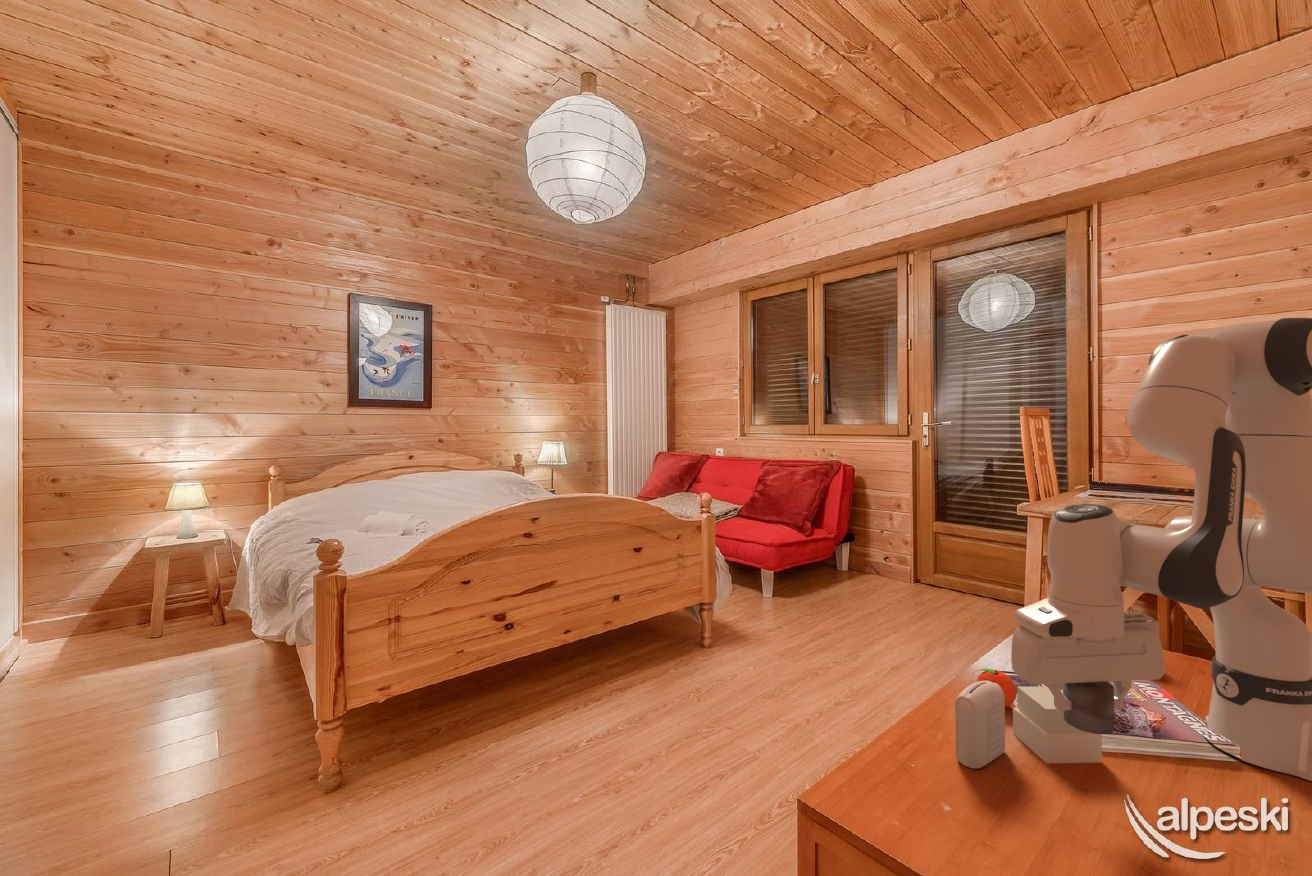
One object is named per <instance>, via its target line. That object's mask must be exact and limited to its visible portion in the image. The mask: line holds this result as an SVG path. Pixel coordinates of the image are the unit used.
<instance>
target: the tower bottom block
mask: <svg viewBox="0 0 1312 876" xmlns="http://www.w3.org/2000/svg"><path fill="white" fill-rule="evenodd" d="M1012 734H1014V736H1015V737H1016V738H1017V739H1019V740H1020V742H1022V743H1023V744H1024V745H1025V746H1027V747H1028V748H1029V750H1031V751H1032V752H1033V753H1034V754H1035V755H1037V756H1038V757H1039V758H1040V759H1041V760H1042V761H1043V762H1044V763H1046V764H1086V763H1087V764H1093V763H1095V764H1097V763H1101V764H1102V763H1103V749H1102V748H1103V747H1102V745H1103V744H1102V743H1103V742H1102V741H1103V740H1102V738H1103V737H1102V735H1103V734H1094V733H1046V732H1045V731H1043V730H1042V729H1041V728H1040V727H1039V726H1037V725H1036V724H1035V723H1034V722H1033V721H1032V720H1030V719H1029V718H1028V717H1027V716H1026V715H1025V714H1023V713H1022V712H1021V711H1020V710H1019V709H1018V708H1017V707H1012Z"/></svg>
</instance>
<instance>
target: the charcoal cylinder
mask: <svg viewBox="0 0 1312 876" xmlns="http://www.w3.org/2000/svg"><path fill="white" fill-rule="evenodd" d="M1112 685H1113V684H1112V683H1111V682H1110V681H1108V682H1085V683H1064V690H1063V695H1065V696H1066V697H1067V698H1069V699H1070V700H1072V706H1071V707H1072V711H1064V720H1065V721H1066V722H1067V723H1068V724H1069V725H1071V726H1073V727H1075V728H1077V729H1079V730H1082V731H1085V732H1089V733H1094V734H1102V735H1109V734H1112V733H1114V732H1115V731H1116V721H1115V720H1116V719H1115V718H1116V717H1115V709H1114V687H1113V686H1112Z"/></svg>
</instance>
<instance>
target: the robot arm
mask: <svg viewBox="0 0 1312 876" xmlns="http://www.w3.org/2000/svg"><path fill="white" fill-rule="evenodd" d="M1147 366H1148V367H1147V368H1146V369H1145V371H1144V373H1143V375H1142V377H1141V379H1140V381H1139V384H1138V386H1137V388H1136V390H1135V393H1134V396H1133V399H1132V401H1131V403H1130V405H1129V406H1130V407H1129V410H1128V412H1127V420H1126V421H1127V427H1128V431H1129V433H1130V435H1131V436H1132V437H1133V439H1134V440H1135V441H1136V442H1137V443H1138V444H1139V445H1140V446H1142V447H1143V448H1144V449H1146V450H1148V451H1150V452H1151V453H1152V454H1155V455H1157V456H1159V457H1161V458H1163V459H1166V460H1168V461H1171V462H1174V463H1177V464H1179V465H1182V466H1184V467H1187V468H1189V469H1192V470H1193V472H1194V474H1195V475H1194V476H1195V484H1194V495H1193V503H1192V513H1191V515H1183V516H1181V515H1180V516H1177V517H1174V518H1173V519H1171V520H1170V521H1169V522H1168V523H1167V524H1166V525H1165V526H1164V528H1162V527H1156V526H1151V525H1150V526H1148V525H1143V524H1139V523H1132V522H1129V521H1127V520H1124V519H1121V518H1119V517H1117V515H1116V513H1115V511H1114V509H1112V508H1111V507H1108V506H1106V505H1101V504H1093V503H1081V504H1070V505H1065V506H1063V507H1060V508H1058V509H1057V510H1055V511H1054V512H1053V513H1052V515H1051V517H1050V521H1049V525H1048V532H1047V542H1046V543H1047V544H1046V547H1047V548H1046V550H1047V551H1046V555H1047V557H1046V558H1047V559H1046V561H1047V567H1048V569H1049V573H1050V584H1049V586H1048V597H1045V598H1043V599H1040V600H1039V601H1036V602H1034V603H1032V604H1030V605H1026V606H1024V607H1021V608H1018V609H1017V610H1015V611H1014V620H1015V622H1016V623H1017V624H1018V625H1019V626H1018V627H1016V629H1015V631H1013V634H1012V640H1011V668H1012V671H1013V672H1014V673H1015V675H1017V677H1019V678H1020V679H1021V680H1023V681H1024V682H1026V683H1027V684H1029V685H1030V686H1031V685H1033V686H1035V685H1037V686H1038V685H1045V686H1047V687H1048V688H1049V690H1050V691H1051V693H1052V694H1053V695H1054V705H1055V707H1056V708H1057V709H1058V710H1059V711H1061V712H1064V711H1072V707H1071V706H1072V700H1070V699H1069V698H1067V697H1066V696H1065V695H1063V694H1062V692H1061V690H1064V683H1085V682H1113V683H1112V684H1111V685H1112V686H1113V687H1114V710H1124V699H1125V697H1126V696H1127V694H1128V693H1129V691H1130V690H1131V688H1132V681H1150V680H1151V681H1152V680H1153V681H1154V680H1161V678H1163V676H1164V674H1165V673H1166V664H1165V663H1166V662H1165V655H1164V651H1163V646H1162V641H1161V638H1160V625H1159V622H1158V621H1157V620H1156V619H1155V618H1153V617H1152V616H1150V615H1148V614H1147V613H1144V612H1143V613H1141V612H1140V613H1137V614H1132V613H1130V614H1128V613H1125V599H1124V598H1125V597H1124V595H1123V591H1122V589H1121V587H1126V588H1128V589H1131V590H1135V591H1138V592H1139V591H1140V592H1143V593H1148V594H1151V595H1156V596H1160V597H1163V598H1166V599H1168V600H1171V601H1174V602H1177V603H1178V602H1179V603H1181V604H1183V605H1188V606H1191V607H1192V608H1196V609H1202V610H1205V609H1209V610H1210V613H1211V616H1212V620H1213V629H1214V643H1215V655H1214V656H1213V657H1212V659H1211V660H1212V662H1211V677H1212V680H1213V685H1212V690H1211V695H1210V696H1211V697H1210V704H1209V710H1208V715H1205V719H1204V722H1205V721H1206V722H1207V725H1208V727H1209V728H1210V729H1212V730H1213V731H1214V732H1216V733H1217V734H1220V735H1222V736H1223V737H1225V738H1227V739H1229V740H1230V741H1231V742H1232V743H1235V744H1237V745H1238V746H1239V747H1240V752H1241V761H1243V762H1246V763H1249V764H1251V765H1255V766H1256V767H1261V768H1264V769H1268V770H1270V771H1275V772H1279V773H1283V774H1286V775H1287V774H1288V775H1291V776H1295V777H1298V778H1301V779H1304V780H1306V781H1310V782H1312V632H1311V630H1310V629H1309V627H1308V626H1307V624H1305V623H1304V621H1303V620H1301V619H1300V618H1299V617H1298V616H1296V615H1295V614H1293V613H1291V612H1290V611H1288V610H1287V609H1284V608H1282V607H1280V606H1279V605H1277V604H1275V603H1274V601H1272V600H1271V599H1269V597H1268V596H1267V595H1266V594H1265V593H1264V591H1263V589H1262V588H1261V586H1263V587H1267V588H1273V589H1280V590H1285V591H1286V590H1287V591H1291V592H1298V593H1304V594H1310V595H1312V396H1311V392H1310V391H1311V390H1312V318H1310V317H1284V318H1280V319H1278V320H1267V321H1254V322H1245V323H1237V324H1232V325H1231V324H1230V325H1227V326H1225V327H1220V328H1214V329H1211V330H1210V329H1209V330H1205V331H1200V332H1197V333H1193V334H1181V335H1178V336H1174V337H1172V338H1169V339H1167V340H1164V341H1163V342H1161V343H1160V344H1158V346H1157V347H1155V349H1154V350H1153V352H1152V353H1151V355H1150V356H1149V360H1148V365H1147ZM1245 498H1247V499H1249V500H1251V501H1253V502H1255V503H1256V504H1257V505H1258V506H1259V508H1260V509H1261V511H1262V514H1263V518H1261V519H1258V518H1247V517H1244V509H1245V507H1244V506H1245V505H1244V504H1245ZM1060 689H1061V690H1060Z"/></svg>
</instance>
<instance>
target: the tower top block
mask: <svg viewBox="0 0 1312 876" xmlns="http://www.w3.org/2000/svg"><path fill="white" fill-rule="evenodd" d="M1060 690H1061V689H1060ZM1016 691H1017V695H1016V699H1017V701H1016V702H1017V707H1016V708H1018V709H1019V710H1020V711H1021V712H1022V713H1023V714H1025V715H1026V716H1027V717H1028V718H1029V719H1030V720H1032V721H1033V722H1034V723H1035V724H1036V725H1037V726H1039V727H1040V728H1041V729H1042V730H1043V731H1045V732H1046V733H1089V732H1085V731H1082V730H1079V729H1077V728H1075V727H1073V726H1071V725H1069V724H1068V723H1067V722H1066V721H1065V720H1064V712H1061V711H1059V710H1058V709H1057V708H1056V707H1055V705H1054V695H1053V694H1052V693H1051V691H1050V690H1049V688H1048V687H1047V685H1045V686H1038V685H1037V686H1035V685H1033V686H1031V685H1030V686H1017V687H1016ZM1061 692H1062V694H1063V690H1061Z"/></svg>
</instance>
